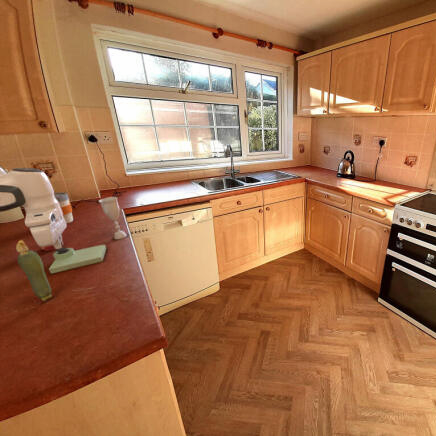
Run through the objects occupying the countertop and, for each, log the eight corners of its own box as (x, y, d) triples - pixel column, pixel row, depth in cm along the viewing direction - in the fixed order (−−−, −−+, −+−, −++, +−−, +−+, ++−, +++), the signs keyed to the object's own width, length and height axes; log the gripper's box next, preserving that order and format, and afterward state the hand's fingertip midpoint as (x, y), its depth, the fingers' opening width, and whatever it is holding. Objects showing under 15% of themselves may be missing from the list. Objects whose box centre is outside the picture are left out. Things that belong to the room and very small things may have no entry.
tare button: (57, 255, 92) (55, 251, 91) (59, 252, 94) (58, 248, 93) (67, 253, 93) (66, 249, 92) (69, 249, 95) (68, 246, 95)
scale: (49, 274, 86) (45, 265, 84) (59, 258, 96) (55, 250, 94) (102, 261, 93) (99, 253, 91) (106, 247, 103) (103, 240, 101)
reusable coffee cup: (78, 216, 140) (68, 190, 134) (76, 222, 130) (65, 195, 125) (49, 221, 133) (37, 195, 127) (45, 229, 124) (32, 201, 118)
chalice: (110, 236, 113) (98, 199, 106) (127, 231, 117) (116, 196, 110) (112, 241, 108) (99, 203, 101) (130, 236, 112) (118, 199, 105)
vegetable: (37, 299, 73) (5, 240, 66) (55, 291, 76) (27, 234, 69) (41, 305, 71) (9, 244, 63) (60, 296, 74) (31, 238, 67)
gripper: (43, 206, 94) (56, 238, 99) (22, 224, 78) (39, 261, 83) (64, 203, 97) (76, 235, 102) (48, 220, 81) (63, 256, 86)
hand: (59, 247), depth 92 cm, fingers closed
